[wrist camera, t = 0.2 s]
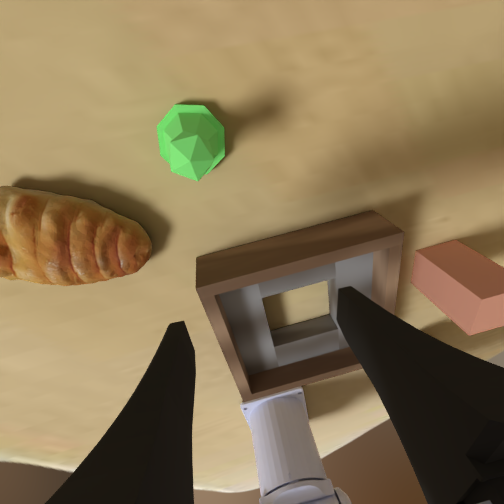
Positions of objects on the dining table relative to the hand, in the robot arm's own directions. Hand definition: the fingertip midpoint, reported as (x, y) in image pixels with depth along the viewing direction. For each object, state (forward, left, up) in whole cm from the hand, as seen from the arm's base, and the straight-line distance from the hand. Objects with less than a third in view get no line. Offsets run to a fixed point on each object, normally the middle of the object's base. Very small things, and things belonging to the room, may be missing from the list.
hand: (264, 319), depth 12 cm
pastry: (+3, +11, -10) cm, 16 cm away
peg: (-9, -18, -10) cm, 22 cm away
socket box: (-9, -4, -10) cm, 14 cm away
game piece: (+7, +1, -10) cm, 12 cm away
